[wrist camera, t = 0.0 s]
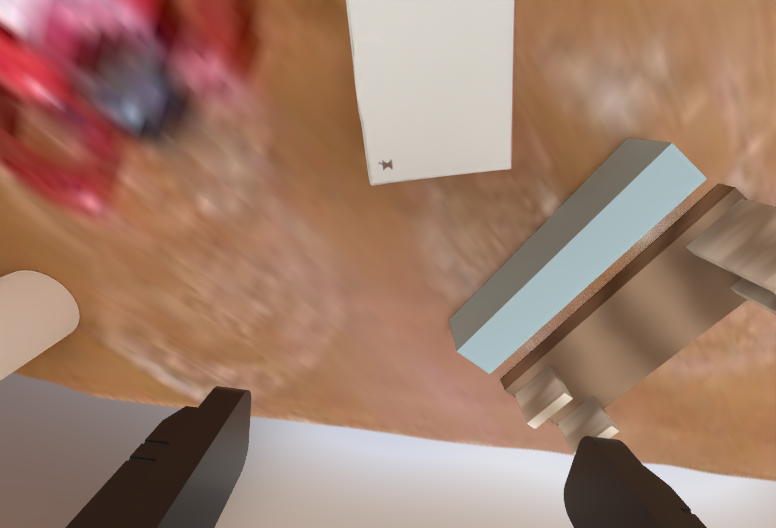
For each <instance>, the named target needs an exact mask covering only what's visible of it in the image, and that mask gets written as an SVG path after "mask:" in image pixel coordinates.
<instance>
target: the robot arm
mask: <svg viewBox="0 0 776 528" xmlns="http://www.w3.org/2000/svg"><path fill="white" fill-rule="evenodd" d="M250 410H251V392H250V391H249V390H242V389H235V388H227V387H220V386H217V387H215V388H214V389H213V390H212V391H211V392H210V394H209V395H208V396H207V397H206V398H205V400H204V401H203V402H202V403H201V405H200V406H199V407H198V408H197V407H189V406H186V407H184V408H182V409H181V410H179V411H177V412H176V413H174V414H173V415H171V416H169V417H168V418H166V419H164V420H163V421H162V422H161V423H160V424H159V425H158V426H157V427H156V429H155V430H154V431H153V432H152V433H151V434H150V435H149V436H148V437H147V438H146V440H145V443H144V444H141V445H140V446H139V447H138V448H137V449H136V450H135V452H134V453H133V454H132V455H131V456H130V459H129V461H126V462H125V463H124V464H123V465H122V466H121V467H120V468H119V469H118V470H117V472H116V473H115V474H114V475H113V476H112V477H111V478H110V479H109V480H108V481H107V483H106V484H105V485H104V486H103V487H102V488H101V489H100V490H99V491H98V492H97V494H96V495H95V496H94V497H93V498H92V499H91V500H90V501H89V502H88V503H87V505H86V506H85V507H84V508H83V509H82V510H81V511H80V512H79V513H78V514H77V516H76V517H75V518H74V519H73V520H72V521H71V522H70V523H69V525H68V526H67V527H66V528H214V527H215V525H216V523H217V521H218V519H219V517H220V515H221V513H222V511H223V509H224V507H225V505H226V503H227V501H228V499H229V496H230V494H231V493H232V490H233V488H234V486H235V484H236V482H237V480H238V478H239V476H240V474H241V472H242V469H243V466H244V463H245V460H246V455H247V451H248V443H249V427H250ZM564 502H565V507H566V511H567V514H568V516H569V519H570V521H571V523H572V525H573V526H574V528H707V527H706V526H705V525H704V524H703V523H702V522H701V521H700V520H699V518H698V517H697V516H696V515H695V514H692V513H691V510H690V508H689V507H688V506H687V505H686V504H685V503H684V501H682V499H681V498H680V497H679V496H678V495H677V494H676V492H675V491H674V490H673V489H672V488H671V487H670V486H669V485H667V484H666V483H665V482H664V481H663V480H661V479H660V478H659V477H658V476H656V475H655V474H654V473H652V472H651V471H650V470H649V469H647V468H646V467H645V466H643V465H642V464H641V462H640V461H639V460H638V459H637V458H636V457H635V455H634V454H633V453H632V452H631V451H630V450H629V448H628V447H627V446H626V445H625V444H624V443H623V442H621V441H620V440H616V439H608V438H600V437H593V436H584V437H583V438H582V439H581V440H580V442H579V445H578V448H577V451H576V454H575V457H574V460H573V463H572V466H571V469H570V472H569V475H568V477H567V481H566V483H565V488H564Z"/></svg>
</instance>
